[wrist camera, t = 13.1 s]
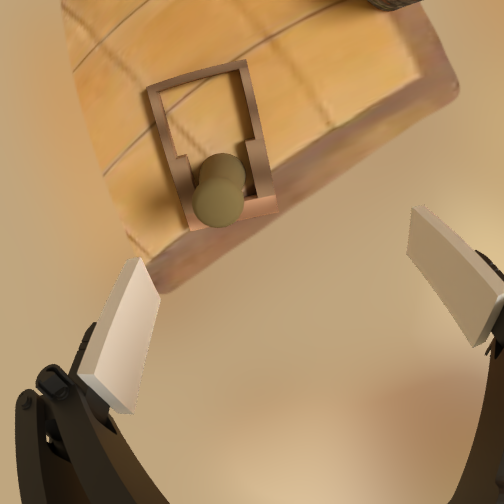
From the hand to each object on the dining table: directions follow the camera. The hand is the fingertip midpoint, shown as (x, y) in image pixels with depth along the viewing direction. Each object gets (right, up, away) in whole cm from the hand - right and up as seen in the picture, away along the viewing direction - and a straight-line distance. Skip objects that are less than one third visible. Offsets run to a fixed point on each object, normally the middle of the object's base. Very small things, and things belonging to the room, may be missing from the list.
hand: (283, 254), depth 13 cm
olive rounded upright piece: (-5, +10, +23) cm, 26 cm away
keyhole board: (-6, +13, +21) cm, 25 cm away
